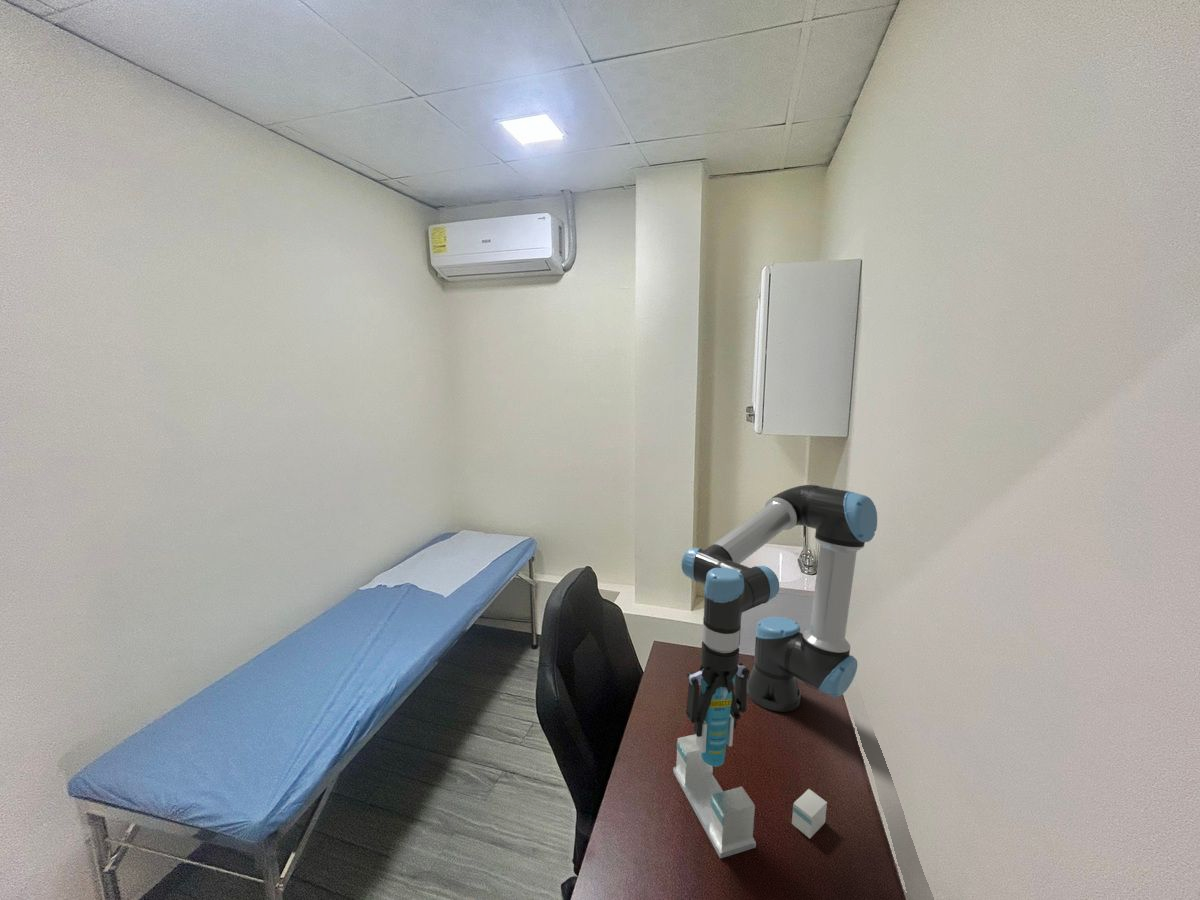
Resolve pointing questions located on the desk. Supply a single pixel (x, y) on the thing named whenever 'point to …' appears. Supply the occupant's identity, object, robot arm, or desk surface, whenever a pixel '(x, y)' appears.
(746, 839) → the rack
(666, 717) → the desk surface
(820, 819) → the block
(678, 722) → the desk surface
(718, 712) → the tube
